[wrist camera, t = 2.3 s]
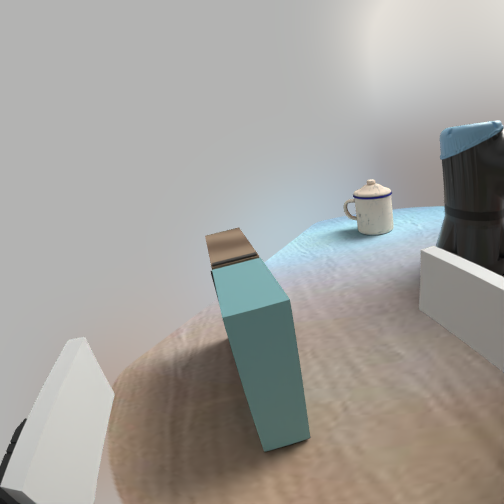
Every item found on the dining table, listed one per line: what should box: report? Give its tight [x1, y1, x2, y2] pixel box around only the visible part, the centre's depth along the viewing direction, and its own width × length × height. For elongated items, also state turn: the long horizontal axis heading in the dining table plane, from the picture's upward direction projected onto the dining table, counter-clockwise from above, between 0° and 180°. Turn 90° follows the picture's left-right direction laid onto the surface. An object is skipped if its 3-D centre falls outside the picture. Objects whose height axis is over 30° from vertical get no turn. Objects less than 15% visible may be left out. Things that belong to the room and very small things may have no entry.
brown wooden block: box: [205, 228, 259, 301], centre depth 33 cm, size 11×4×14 cm, turn 11°
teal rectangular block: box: [212, 258, 310, 452], centre depth 24 cm, size 8×4×14 cm, turn 11°
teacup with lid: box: [344, 180, 393, 235], centre depth 68 cm, size 12×9×12 cm
